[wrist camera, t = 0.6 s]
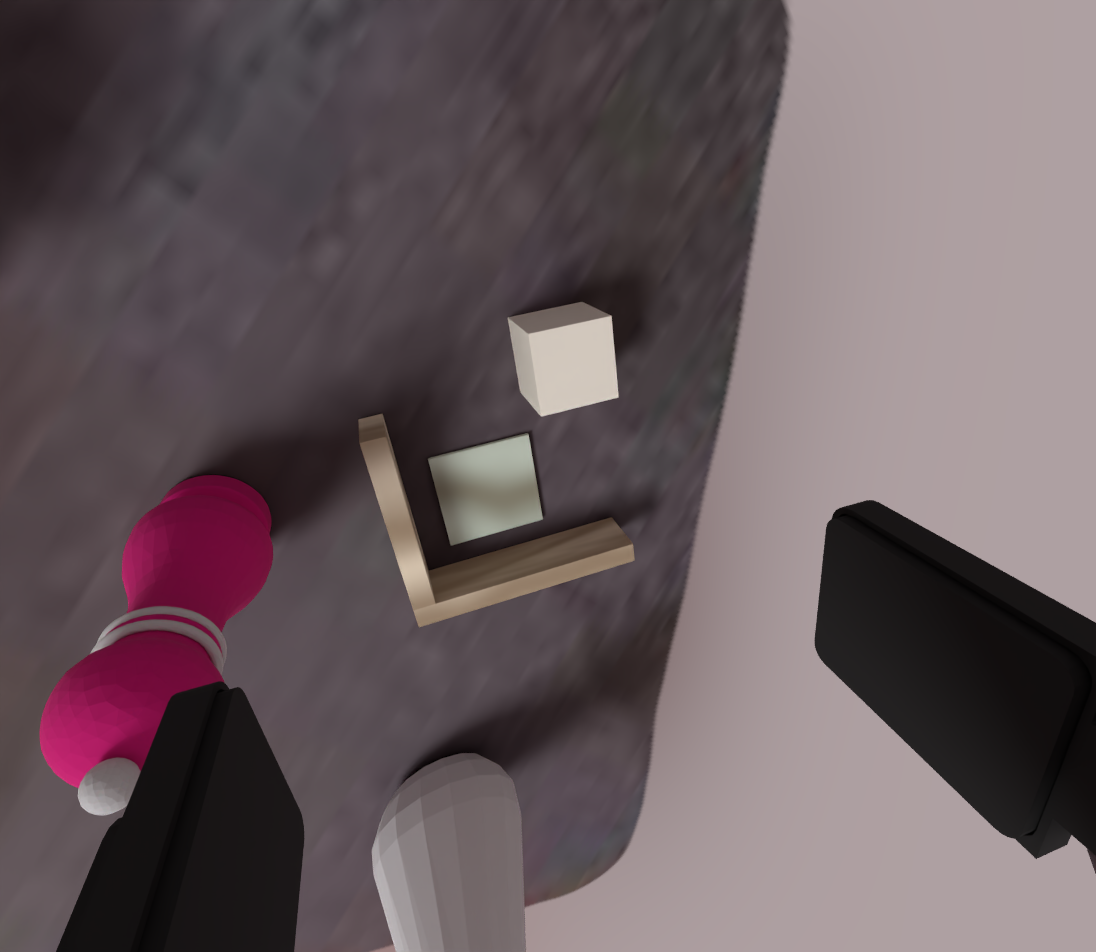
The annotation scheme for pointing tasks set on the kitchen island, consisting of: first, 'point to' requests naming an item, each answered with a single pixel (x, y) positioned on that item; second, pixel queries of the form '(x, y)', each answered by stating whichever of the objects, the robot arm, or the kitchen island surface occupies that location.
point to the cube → (564, 357)
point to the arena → (482, 526)
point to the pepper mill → (158, 634)
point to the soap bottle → (453, 859)
